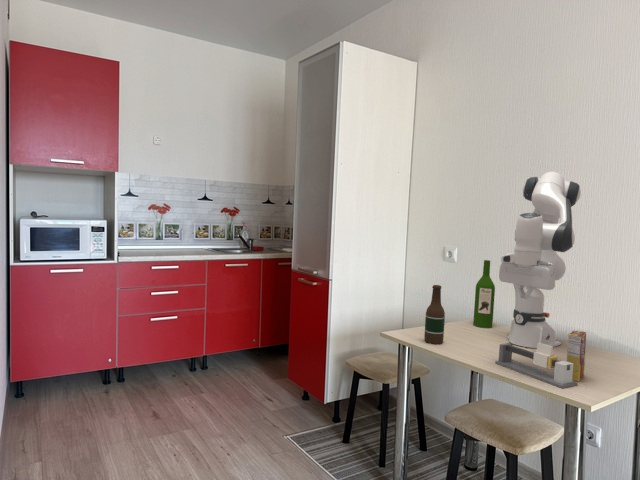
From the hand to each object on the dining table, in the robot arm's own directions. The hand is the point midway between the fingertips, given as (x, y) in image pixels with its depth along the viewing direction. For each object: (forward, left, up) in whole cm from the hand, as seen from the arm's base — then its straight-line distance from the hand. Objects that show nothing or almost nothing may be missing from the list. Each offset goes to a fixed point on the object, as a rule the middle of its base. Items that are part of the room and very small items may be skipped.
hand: (524, 298), depth 162 cm
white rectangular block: (0, +9, -21) cm, 23 cm away
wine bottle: (-39, -51, -25) cm, 69 cm away
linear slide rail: (0, +6, -25) cm, 26 cm away
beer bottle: (+6, -37, -25) cm, 45 cm away
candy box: (-10, +14, -25) cm, 31 cm away
